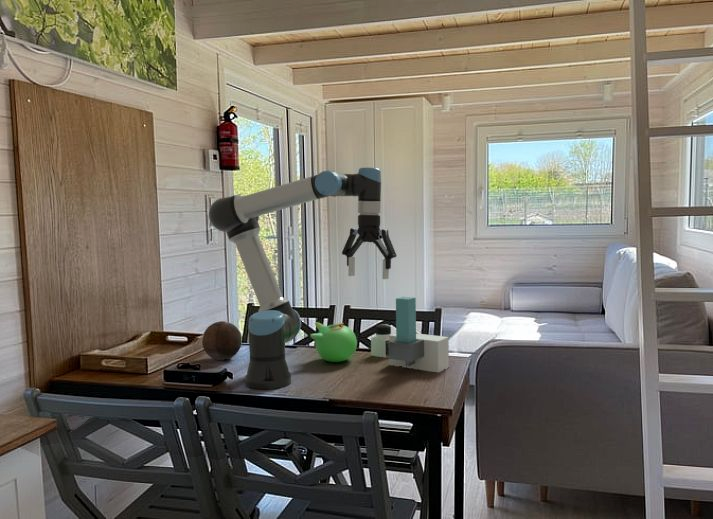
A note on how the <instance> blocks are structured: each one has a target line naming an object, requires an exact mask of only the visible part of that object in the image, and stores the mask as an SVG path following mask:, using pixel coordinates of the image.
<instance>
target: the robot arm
mask: <svg viewBox="0 0 713 519" xmlns="http://www.w3.org/2000/svg"><path fill="white" fill-rule="evenodd" d="M381 177H382V175H381V169H379V168H377V167H360V168H359V169H358V172H357V173H352V174H351V173H340V172H336V171H334V170H323V171H321V172H319V173H318V174H316V175H312V176H309V177H305V178H302V179H298V180H294V181H290V182H288V183H284V184H281V185H277V186H274V187H271V188H270V187H269V188H267V189H265V190H260V191H257V192H253V193H250V194H246V195H243V196H242V195H240V194H235V195H232V196H227V197H221V198H217V199H216V200H215V201H214V202H212V204H211V205H210V207H209V210H208V218H209V222H210V223H211V225H212V226H213V228H215V229H216V230H218V231H220V232H225V233H226V235H227V238H228V240H229V241H230V242H231V243H233V244H235V247H236V249H237V251H238V253H239V256H240V259H241V262H242V264H243V267H244V268H245V269H244V270H245V272H246V275H247V276H248V279H249V282H250V284H251V287H252V289H253V291H254V295H255V296H256V299H257V302H258V304H259V309H258V311H257V312H255V313H253V314H252V315H250V316H249V318H248V326H247V328H248V346H249V349H248V350H249V364H248V367H247V373H246V375H245V377H244V379H245V380H244V381H245V382H244V383H245V384H244V385H245V386H246V387H247V388H249V389H254V390H274V389H280V388H284V387H287V386H288V385H290V384H291V383H292V374H291V372H290V371H289V367H288V363H287V360H286V343H289V342H291V341H292V340H294V339H295V338H296V337H297V336H298V334H299V333H300V331H301V328H302V319H301V316H300V314H299V312H298V311H296V309H293V308H292V305H291V303H290V300H289V299H287V298H284V297H283V295H282V291H281V289H280V286H279V283H278V281H277V279H276V276H275V274H274V272H273V269H272V267H271V264H270V262H269V259H268V257H267V256H268V255H267V254H266V251H265V249H264V247H263V244H262V241H261V238H260V236H259V235H260V232H261V226H260V223H259V219H260V216H262V215H267V214H271V213H274V212H277V211H281V210H285V209H287V208H291V207H295V206H299V205H301V204H302V205H303V204H305V203H309V202H313V201H317V200H320V199H324V198H328V197H334V198H335V197H357V198H358V199H357V201H358V202H357V213H358V215H357V226H358V228H356V227H352V228H350V230H349V236H348V238H347V240H346V242H345V244H344V246H343V249H342V252H341V254H342V256H343V255H344V256H346V266H347V267H348V277H354V276H355V271H356V269H355V267H356V266H355V265H356V262H355V261H356V257H355V254H356V252H357V251H358V250H359V248H360V247H361V245H362V244H363V243H373V244H374V245H375V246H376V247H377V249H378V250H379V252H380V254H381V255H382V256H383V257H384V259H382V278H381V280H387V279H389V278H390V277H389V275H390V274H389V273H390V271H389V270H391V268H392V259H394V258H396V257H397V253H396V250H395V248H394V245H393V243H392V240H391V237H390V236H389V229H387V228H385V229H380V227H381V215H380V214H381V201H382V200H381V197H382V196H381V195H382V194H381V193H382V178H381ZM357 235H358V237H357ZM380 236H381V238H382V239H381V238H380ZM356 237H357V238H356ZM382 240H383V242H382Z"/></svg>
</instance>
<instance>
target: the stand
mask: <svg viewBox="0 0 713 519" xmlns="http://www.w3.org/2000/svg"><path fill="white" fill-rule="evenodd" d="M395 339H396V332H395V333H391V335H389V341H392V340H395ZM416 339H423V340H424V357H422V358H420V359H417V360H415V364H413V365H411V366H406V364H405V361H401V360H394V359H389V358H388V360H389V361H388V362H389V366H393V365H394V366H393V367H399V366H402V367H401V368H406V367H407V369H412V368H413V369H414V370H418V369H419V370H421V371H424V372H432V373H440V372H443V371H445V370H446V369H448V367H449V368H450V359H449V358H450V356H449V354H450V353H449V352H450V350H449V347H450V346H449V343H450V342H449V339H450V338H449V336H442V335H433V334H432V335H431V334H425V333H424V334H423V333H417V332H416ZM444 369H445V370H444Z"/></svg>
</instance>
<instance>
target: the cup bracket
mask: <svg viewBox="0 0 713 519" xmlns="http://www.w3.org/2000/svg"><path fill="white" fill-rule="evenodd" d="M422 357H424V340H423V339H416V341H415V342H413V343H402V342H396V339H395V340H392V341H389V357H388V360H389V359H394V360H401V361H405V364H406V366H411V365H413V364H415V360H417V359H420V358H422Z"/></svg>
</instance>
